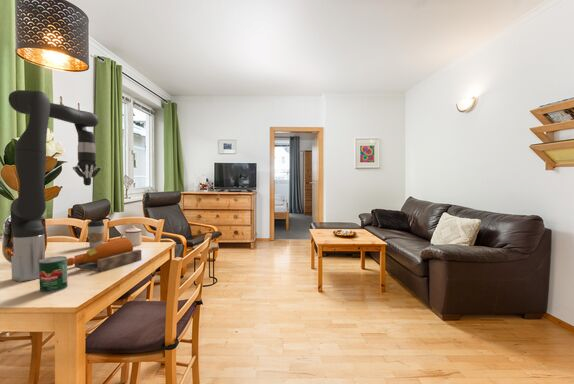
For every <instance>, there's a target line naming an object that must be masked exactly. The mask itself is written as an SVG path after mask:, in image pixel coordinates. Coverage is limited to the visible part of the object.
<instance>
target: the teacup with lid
mask: <svg viewBox="0 0 574 384" xmlns="http://www.w3.org/2000/svg"><path fill="white" fill-rule="evenodd" d="M123 235H124V237H125V238H123ZM119 237H120V239H128V240H130V241H131V243H132V245H133V247H138V246H141V245H142V241H143V240H142V237H143V236H142V229H141V228H138V227H136V225H131V227H130V228H128V229H126V230H125V231H124V233H121V234H120V236H119Z"/></svg>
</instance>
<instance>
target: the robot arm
mask: <svg viewBox="0 0 574 384" xmlns="http://www.w3.org/2000/svg"><path fill="white" fill-rule="evenodd" d="M8 103H9V105H10V107H11V108H12V109H13V110H14V111H15V112H17V113H19V114H22V115H23V114H24V115H29V116H28V117H29V119H28V123H27V126H26V128H25V130H24V131H23V132H22V134H21V135H20V137H19V138H18V140H17V141H16V143H15V146H14V164H15V166H14V167H15V170H16V173H17V177H18V178H17V179H18V182H19V190H18V197H16V198H15V199H14V200H13V201H12V202H11V205H10V225H11V230H12V236H13V239H12V240H13V255H11V257H10V259H11V260H10V261H11V281H16V282H19V283H20V282H25V281H33V280H36V279H39V260H41V259H45V258H46V250H45V249H46V246H45V226H43V221H42V216H43V215H44V214H45V212H46V208H47V203H46V193H45V180H46V179H45V178H46V167H47V166H46V163H47V137H48V136H47V134H48V126H49V120H50V118H52V119H55V120H60V121H63V122H67V123H70V124H74V127H75V130H76V133H77V161H78V162H77V163H76V165H75V166H73V167H72V170H73V171H74V172H75V173H76V174H77V175H78V176H79V177H80V178H83V184H84V186H91V184H92V178H95V177H96V176H97V175H98V173H99V172H100V171H101V168H100V167H98V166H97V163H96V161H97V159H96V158H97V155H96V154H97V153H96V151H97V150H96V142H95V140H96V139H95V138H96V136H95V133H94V132H92V131H88V130H87V128H92V127H93V128H94V127H97V126H98V124H99V122H100V121H99V118H98V116H97V115H96V114H95V113H93V112H90V111H84V110H79V109H76V108H73V107H70V106H67V105H63V104H58V103H53V102H51V101H50V98H49V97H48V95H47V94H46V93H45V92H43V91H40V90H29V89H25V90H23V89H22V90H21V89H17V90H14V91H12V92H10V93H9V95H8Z"/></svg>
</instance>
